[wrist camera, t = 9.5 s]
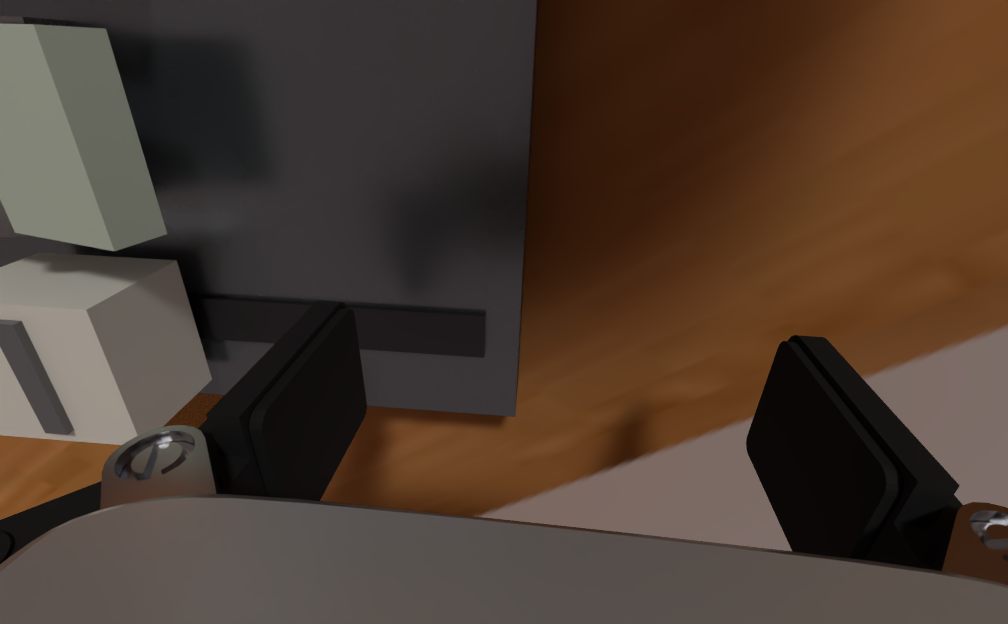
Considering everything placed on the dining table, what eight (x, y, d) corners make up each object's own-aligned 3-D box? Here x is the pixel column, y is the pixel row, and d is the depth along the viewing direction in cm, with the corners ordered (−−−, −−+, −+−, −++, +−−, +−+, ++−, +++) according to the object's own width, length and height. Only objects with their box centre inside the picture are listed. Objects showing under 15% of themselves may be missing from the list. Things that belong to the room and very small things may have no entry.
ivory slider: (176, 260, 14) (78, 313, 11) (211, 379, 15) (136, 452, 13) (39, 252, 14) (-93, 303, 11) (91, 370, 16) (-11, 440, 13)
